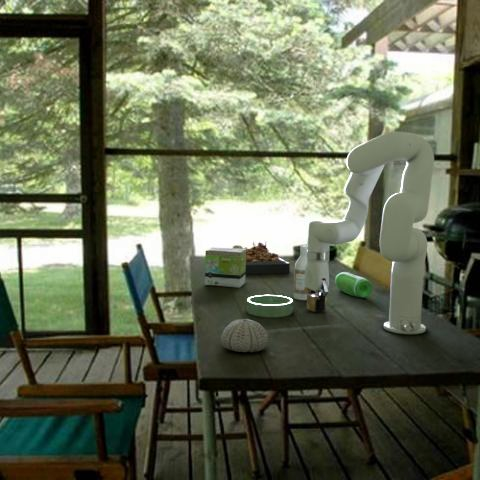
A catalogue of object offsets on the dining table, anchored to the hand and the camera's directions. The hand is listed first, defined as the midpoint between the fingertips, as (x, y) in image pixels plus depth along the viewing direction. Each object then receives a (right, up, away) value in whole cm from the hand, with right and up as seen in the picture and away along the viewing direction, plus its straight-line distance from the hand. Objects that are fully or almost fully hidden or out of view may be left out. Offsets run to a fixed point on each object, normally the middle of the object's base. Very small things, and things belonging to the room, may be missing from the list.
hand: (316, 308), depth 212 cm
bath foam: (-3, +1, +20) cm, 20 cm away
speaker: (+18, +2, +30) cm, 34 cm away
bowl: (-16, -1, -2) cm, 16 cm away
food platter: (-20, +11, +92) cm, 94 cm away
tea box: (-32, +5, +45) cm, 56 cm away
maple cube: (0, 0, 0) cm, 0 cm away
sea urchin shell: (-25, -7, -41) cm, 48 cm away
